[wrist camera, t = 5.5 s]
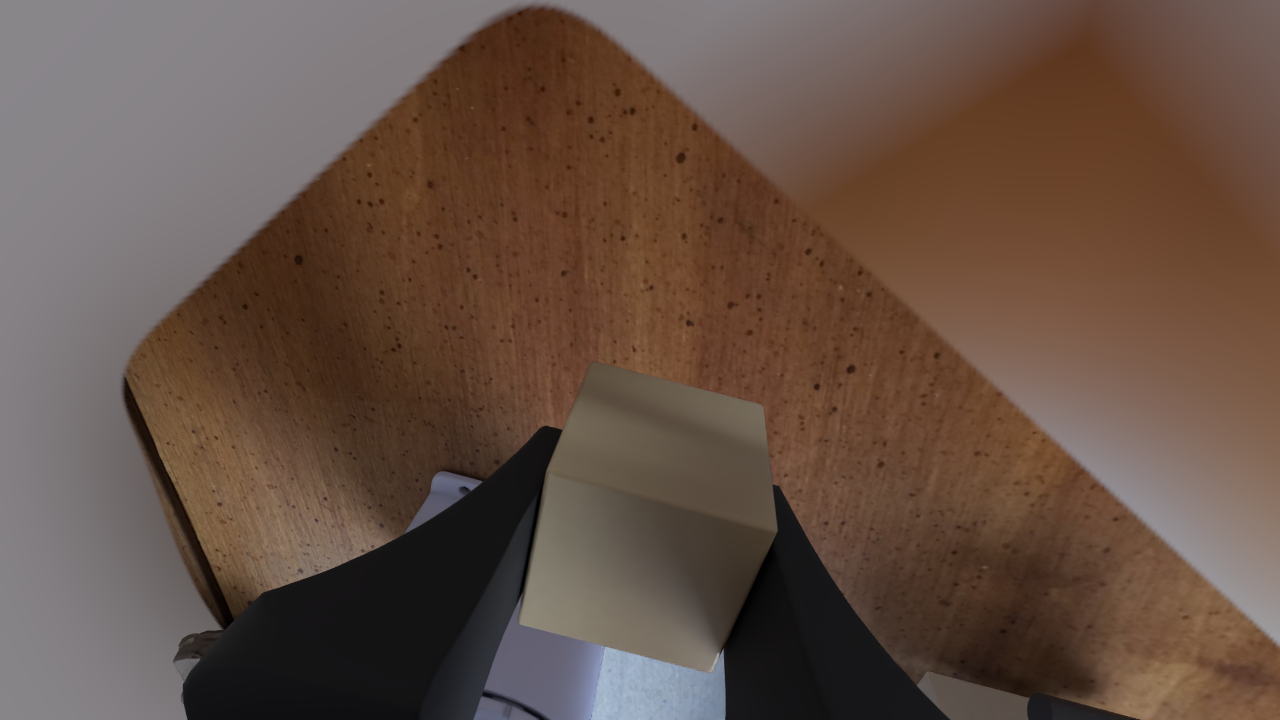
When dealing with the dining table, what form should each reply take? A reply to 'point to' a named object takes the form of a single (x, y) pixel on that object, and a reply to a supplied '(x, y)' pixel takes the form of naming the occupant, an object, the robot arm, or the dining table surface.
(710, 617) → the block
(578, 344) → the dining table surface
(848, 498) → the dining table surface
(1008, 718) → the drawer
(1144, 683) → the dining table surface
